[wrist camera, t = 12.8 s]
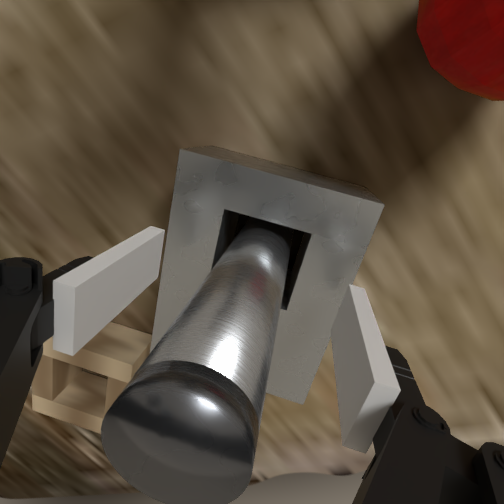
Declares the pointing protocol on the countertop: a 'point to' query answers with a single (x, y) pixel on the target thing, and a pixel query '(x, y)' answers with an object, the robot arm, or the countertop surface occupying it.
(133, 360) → the wooden square frame
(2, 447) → the robot arm
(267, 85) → the countertop surface
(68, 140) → the countertop surface
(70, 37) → the countertop surface
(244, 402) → the rod
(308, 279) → the socket block
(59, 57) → the countertop surface
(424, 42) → the apple
